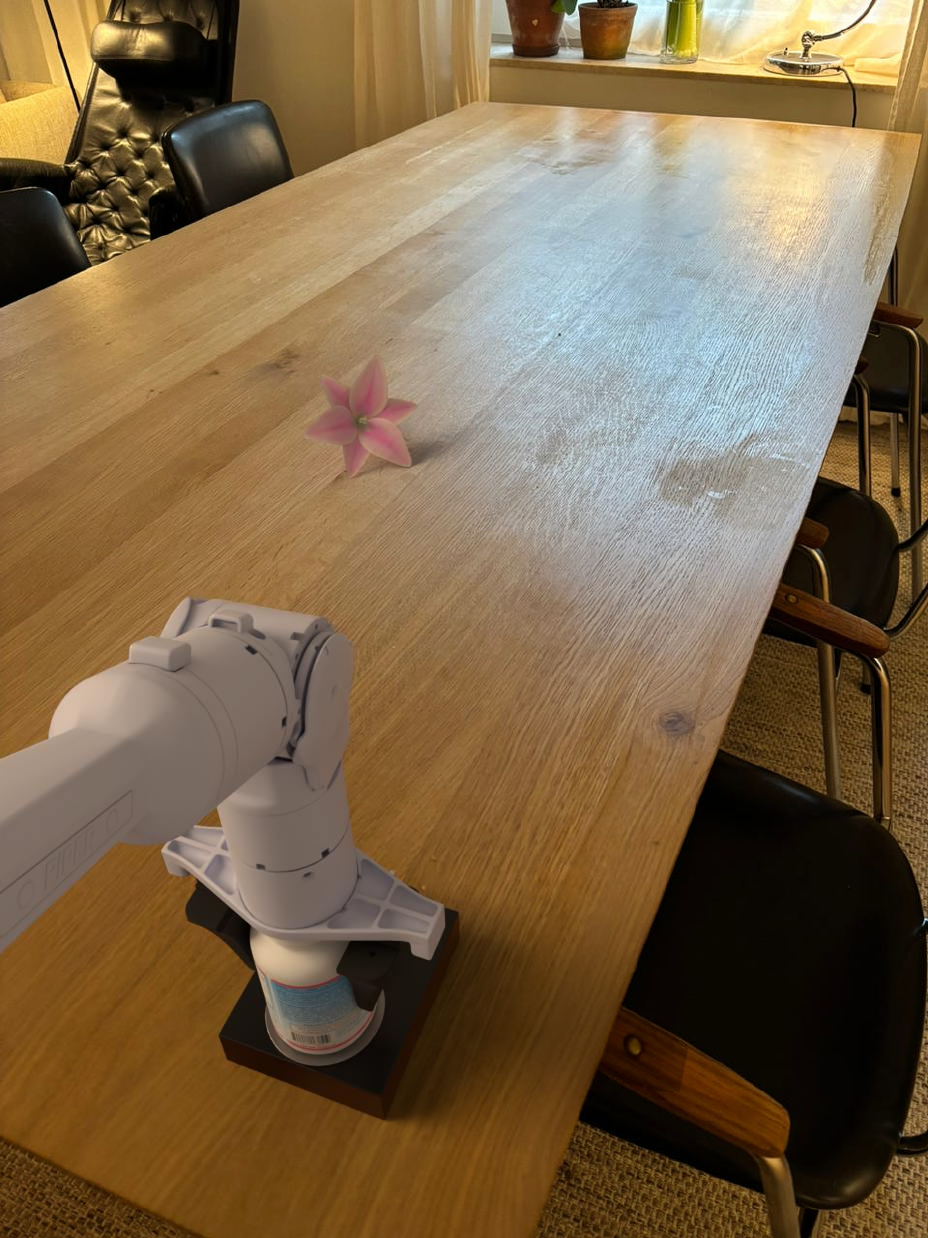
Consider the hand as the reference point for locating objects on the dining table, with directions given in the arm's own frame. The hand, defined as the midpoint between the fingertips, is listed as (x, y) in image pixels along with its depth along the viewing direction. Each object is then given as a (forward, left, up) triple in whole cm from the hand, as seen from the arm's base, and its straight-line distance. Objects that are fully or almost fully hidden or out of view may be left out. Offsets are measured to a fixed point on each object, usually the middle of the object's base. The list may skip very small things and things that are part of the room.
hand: (319, 975), depth 54 cm
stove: (+2, 0, -7) cm, 7 cm away
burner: (0, 0, -4) cm, 4 cm away
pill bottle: (0, 0, -4) cm, 4 cm away
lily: (+59, +25, -7) cm, 65 cm away
